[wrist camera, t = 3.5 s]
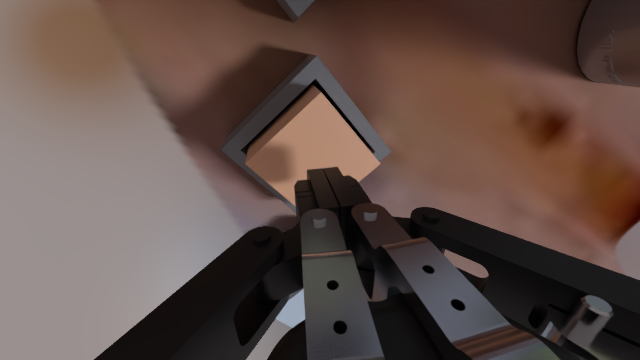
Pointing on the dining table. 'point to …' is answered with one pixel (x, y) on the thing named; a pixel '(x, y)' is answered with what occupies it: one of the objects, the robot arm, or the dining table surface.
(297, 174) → the terracotta button
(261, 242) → the robot arm
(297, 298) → the dusty blue button
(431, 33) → the dining table surface
